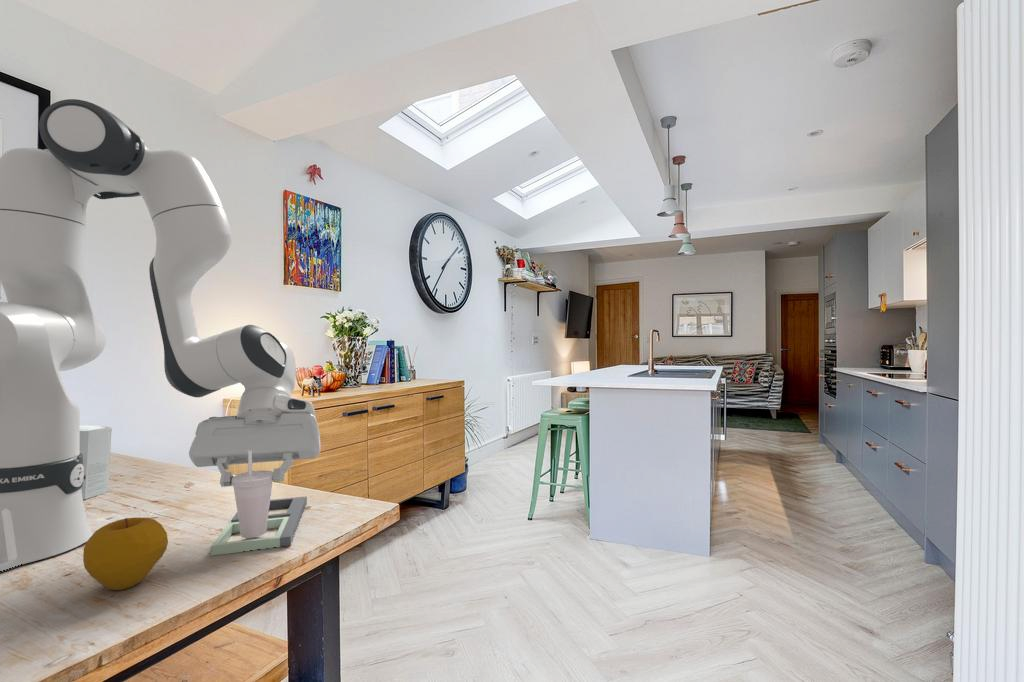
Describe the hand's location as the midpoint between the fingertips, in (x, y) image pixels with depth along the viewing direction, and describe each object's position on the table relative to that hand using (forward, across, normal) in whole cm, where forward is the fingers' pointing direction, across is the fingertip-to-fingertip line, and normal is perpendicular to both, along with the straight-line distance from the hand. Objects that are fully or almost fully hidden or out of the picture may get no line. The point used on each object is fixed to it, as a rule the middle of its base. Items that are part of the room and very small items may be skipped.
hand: (252, 482), depth 77 cm
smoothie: (+6, 0, +7) cm, 9 cm away
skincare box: (-20, -41, +34) cm, 57 cm away
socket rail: (+2, 0, +11) cm, 11 cm away
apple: (+14, -13, 0) cm, 19 cm away
